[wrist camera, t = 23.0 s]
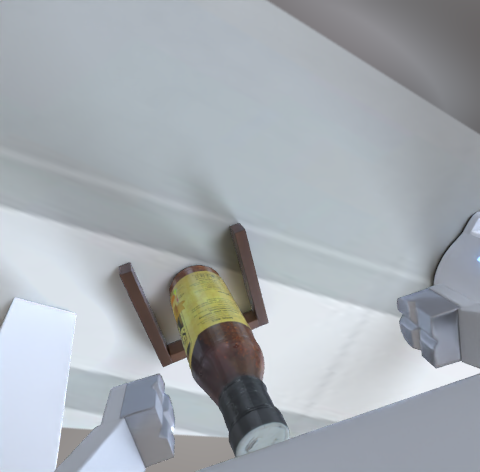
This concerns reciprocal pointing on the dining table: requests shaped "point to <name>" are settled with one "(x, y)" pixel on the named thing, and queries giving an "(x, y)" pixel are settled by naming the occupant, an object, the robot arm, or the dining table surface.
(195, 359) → the sauce bottle
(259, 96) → the dining table surface
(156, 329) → the bottle bay
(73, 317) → the milk
